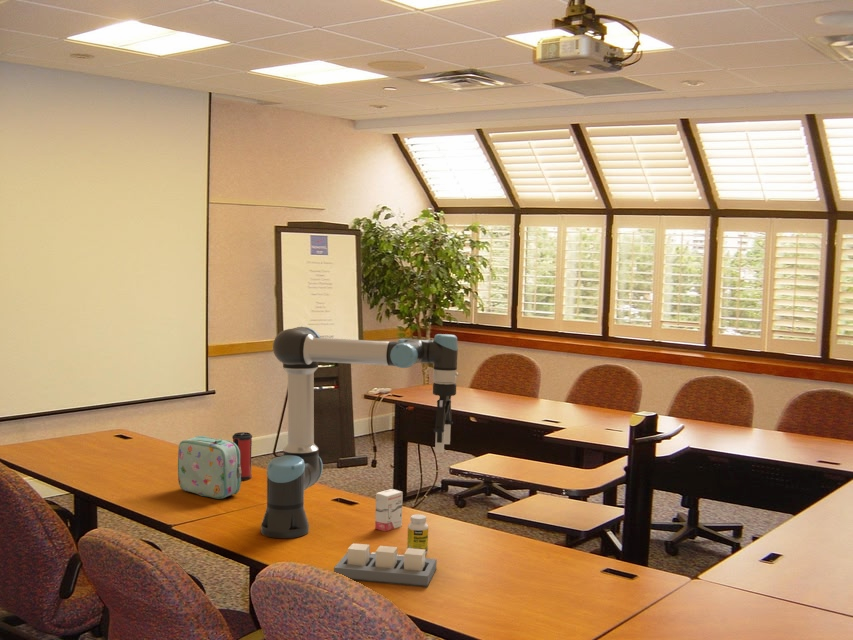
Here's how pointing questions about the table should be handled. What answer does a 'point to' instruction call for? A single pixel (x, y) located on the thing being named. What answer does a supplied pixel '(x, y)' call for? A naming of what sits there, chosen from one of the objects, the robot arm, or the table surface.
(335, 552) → the table surface
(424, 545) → the pill bottle
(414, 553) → the button right
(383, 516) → the ink box
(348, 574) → the board
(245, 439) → the red travel mug
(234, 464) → the lunch box
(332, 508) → the table surface
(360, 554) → the button left
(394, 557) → the button middle
